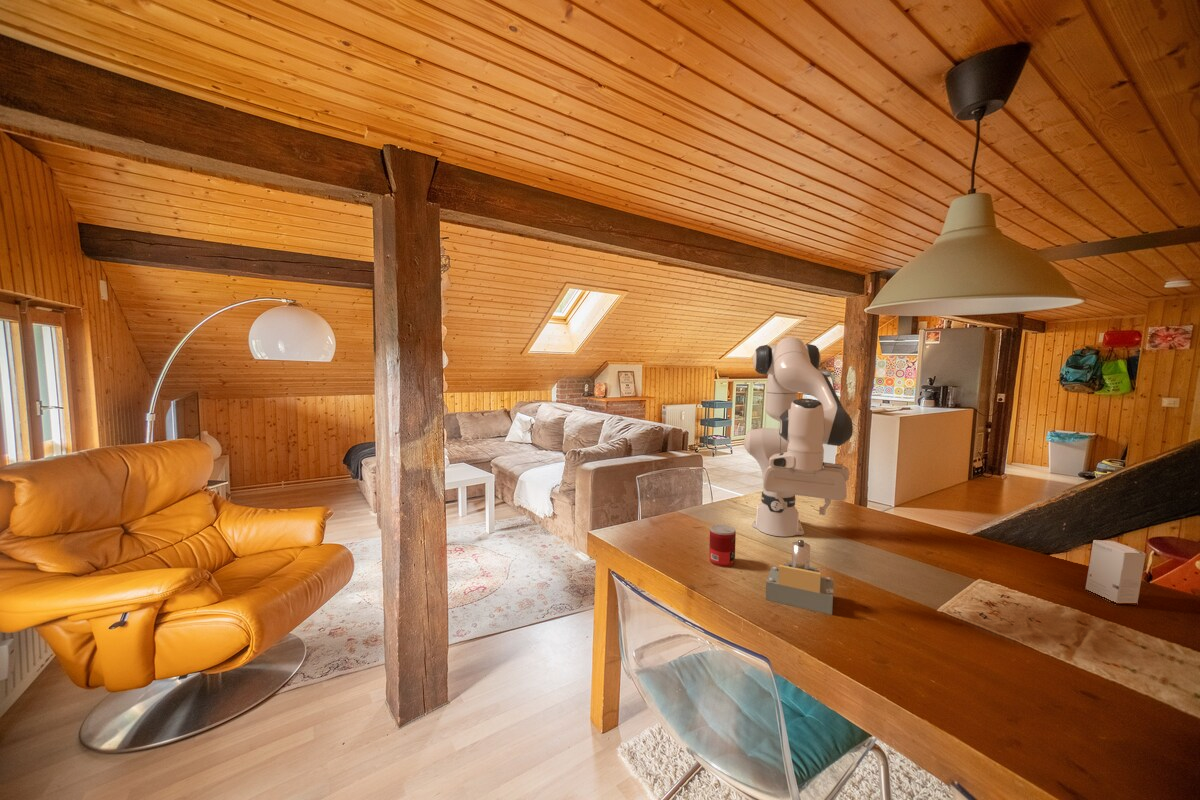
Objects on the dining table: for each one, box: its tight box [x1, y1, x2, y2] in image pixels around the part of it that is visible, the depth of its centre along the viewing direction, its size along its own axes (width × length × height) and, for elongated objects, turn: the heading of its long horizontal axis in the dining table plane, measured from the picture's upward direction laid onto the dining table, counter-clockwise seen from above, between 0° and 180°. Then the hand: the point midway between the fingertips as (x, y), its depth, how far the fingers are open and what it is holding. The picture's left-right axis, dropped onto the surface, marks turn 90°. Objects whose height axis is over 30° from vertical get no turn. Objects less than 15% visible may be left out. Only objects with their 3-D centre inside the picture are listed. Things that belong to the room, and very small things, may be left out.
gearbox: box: [765, 562, 835, 616], centre depth 124 cm, size 10×16×10 cm, turn 62°
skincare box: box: [1085, 539, 1147, 604], centre depth 124 cm, size 8×6×15 cm
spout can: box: [791, 539, 811, 570], centre depth 123 cm, size 4×4×11 cm
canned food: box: [708, 524, 737, 568], centre depth 147 cm, size 8×8×11 cm
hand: (802, 511), depth 122 cm, fingers open, 8 cm apart
